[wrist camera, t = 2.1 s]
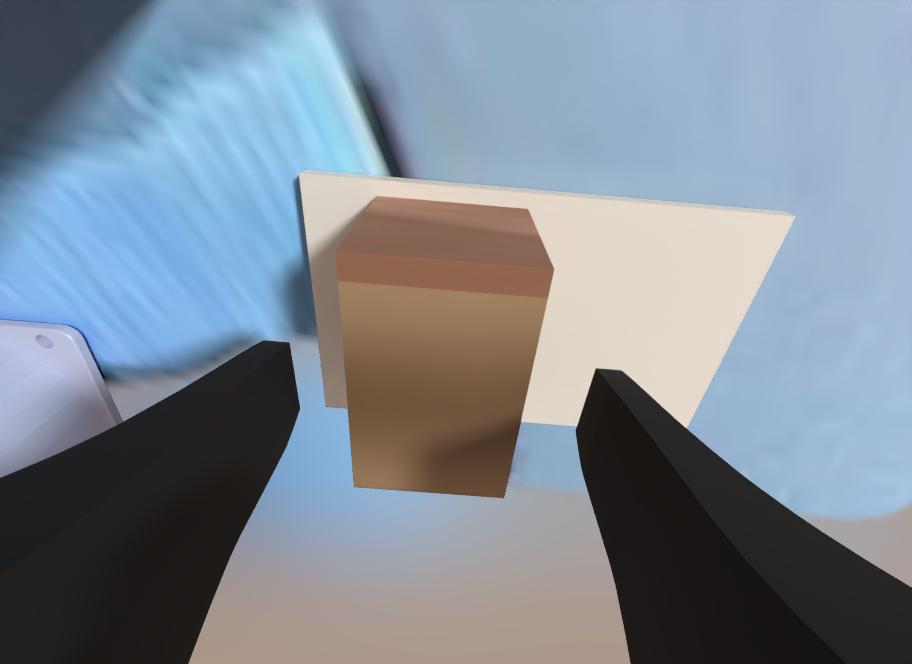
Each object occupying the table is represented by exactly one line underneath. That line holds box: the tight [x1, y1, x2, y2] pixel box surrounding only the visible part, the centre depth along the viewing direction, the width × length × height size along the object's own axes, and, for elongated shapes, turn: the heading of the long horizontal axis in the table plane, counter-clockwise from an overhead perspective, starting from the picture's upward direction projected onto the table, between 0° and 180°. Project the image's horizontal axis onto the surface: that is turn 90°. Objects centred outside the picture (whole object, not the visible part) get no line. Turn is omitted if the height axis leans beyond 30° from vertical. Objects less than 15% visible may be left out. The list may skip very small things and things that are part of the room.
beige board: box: [299, 169, 795, 428], centre depth 13 cm, size 13×8×1 cm, turn 86°
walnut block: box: [335, 196, 554, 498], centre depth 11 cm, size 7×4×4 cm, turn 176°
